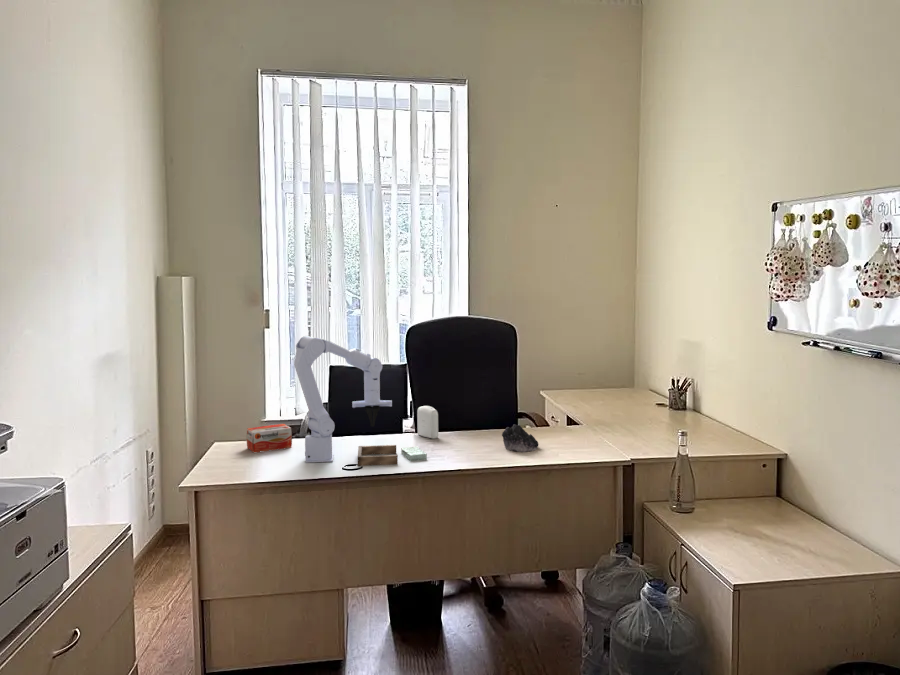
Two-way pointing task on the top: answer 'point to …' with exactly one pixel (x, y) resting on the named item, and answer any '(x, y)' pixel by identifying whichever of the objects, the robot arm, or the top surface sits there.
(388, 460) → the walnut box
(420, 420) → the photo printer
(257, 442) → the medicine box
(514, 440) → the crystal cluster
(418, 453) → the cover plate
